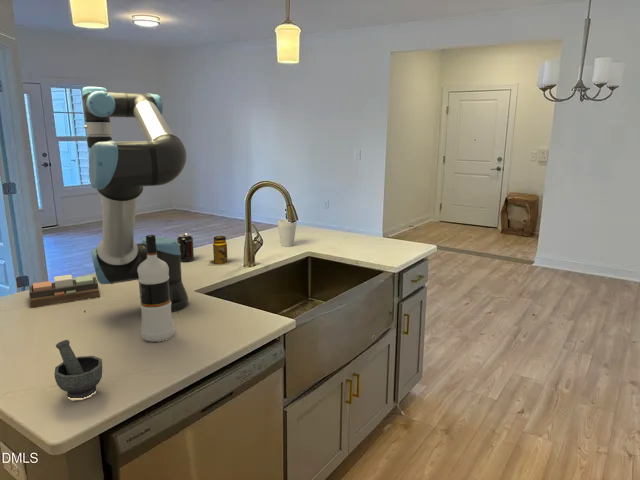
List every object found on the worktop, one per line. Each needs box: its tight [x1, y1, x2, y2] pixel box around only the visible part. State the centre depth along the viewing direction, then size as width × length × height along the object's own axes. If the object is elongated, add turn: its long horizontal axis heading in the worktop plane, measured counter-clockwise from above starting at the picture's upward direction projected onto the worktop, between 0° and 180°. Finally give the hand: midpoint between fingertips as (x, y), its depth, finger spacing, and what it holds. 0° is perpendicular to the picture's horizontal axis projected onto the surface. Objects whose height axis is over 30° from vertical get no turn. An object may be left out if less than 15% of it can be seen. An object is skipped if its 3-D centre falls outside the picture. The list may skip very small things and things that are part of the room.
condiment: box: [208, 235, 229, 266], centre depth 209 cm, size 7×8×12 cm
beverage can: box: [176, 233, 195, 263], centre depth 212 cm, size 7×7×12 cm
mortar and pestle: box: [54, 339, 103, 398], centre depth 105 cm, size 11×9×12 cm
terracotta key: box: [32, 280, 53, 292], centre depth 163 cm, size 6×6×3 cm
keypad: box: [28, 276, 101, 309], centre depth 167 cm, size 13×21×4 cm, turn 120°
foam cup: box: [277, 218, 297, 248], centre depth 241 cm, size 10×9×13 cm
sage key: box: [74, 275, 94, 286], centre depth 170 cm, size 6×6×3 cm
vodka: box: [137, 234, 176, 343], centre depth 133 cm, size 9×9×30 cm
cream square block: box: [53, 274, 74, 289], centre depth 166 cm, size 6×6×3 cm
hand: (106, 205), depth 162 cm, fingers closed
